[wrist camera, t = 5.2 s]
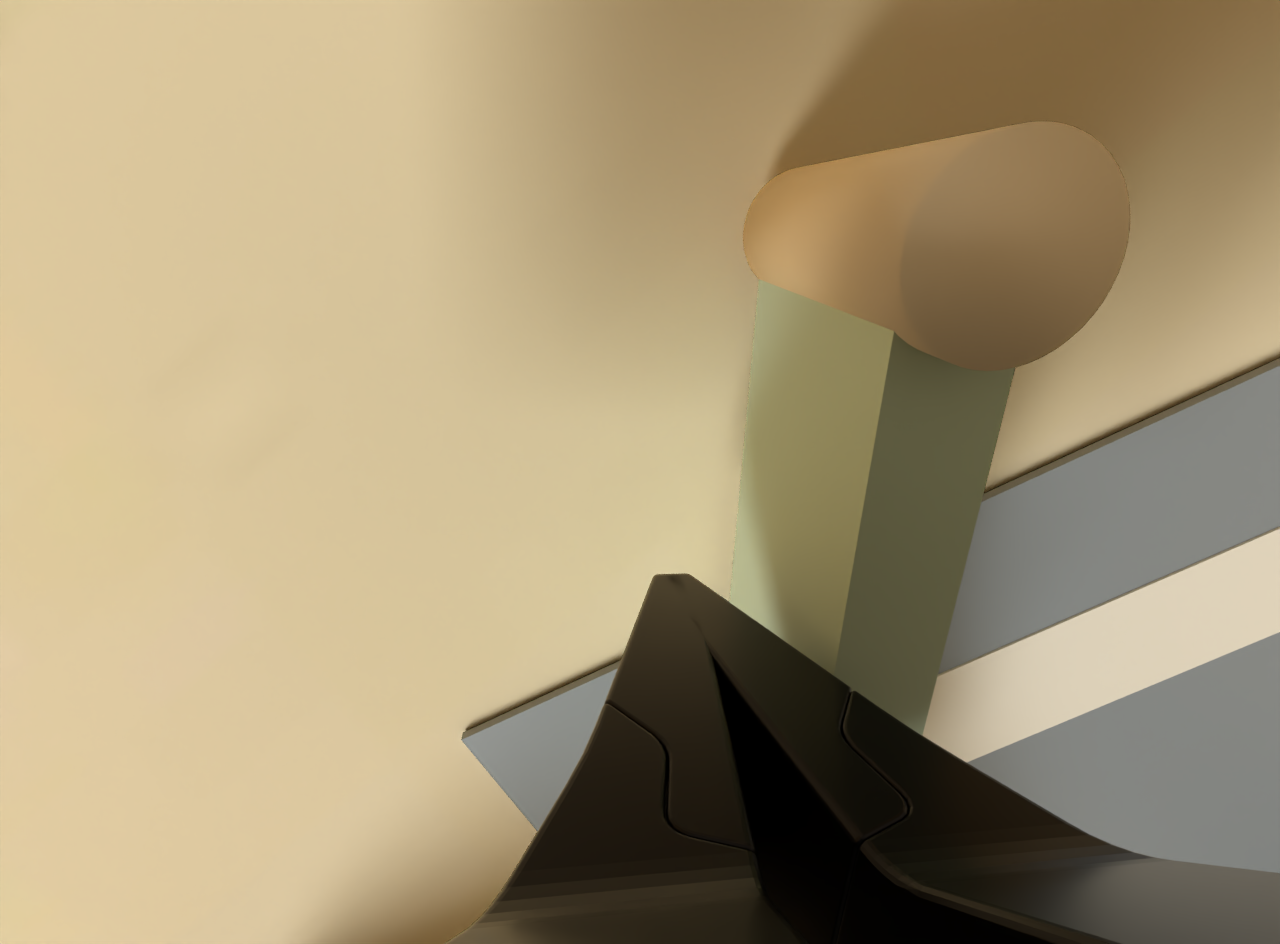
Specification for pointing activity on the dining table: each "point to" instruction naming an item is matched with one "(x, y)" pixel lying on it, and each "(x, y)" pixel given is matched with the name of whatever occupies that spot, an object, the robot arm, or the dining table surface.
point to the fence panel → (902, 378)
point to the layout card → (1085, 643)
